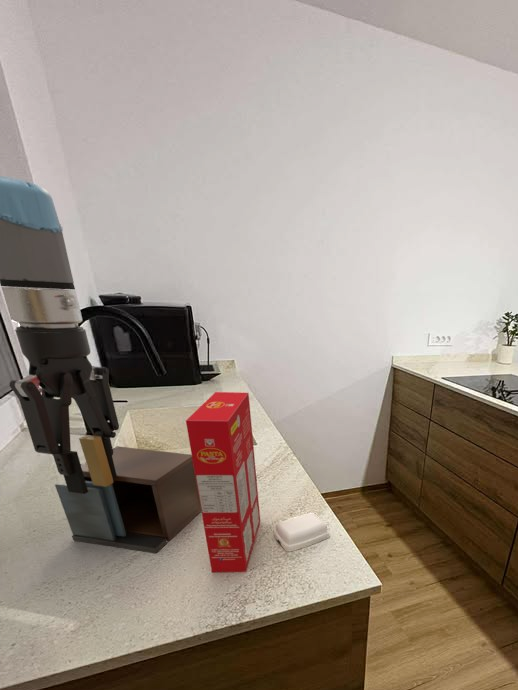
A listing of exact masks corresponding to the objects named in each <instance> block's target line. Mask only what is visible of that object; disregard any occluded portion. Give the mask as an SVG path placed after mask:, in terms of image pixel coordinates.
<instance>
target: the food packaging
mask: <svg viewBox="0 0 518 690" xmlns="http://www.w3.org/2000/svg"><path fill="white" fill-rule="evenodd" d="M185 425H186V430H187V435H188V436H187V437H188V441H189V447H190V455H192V459H193V465H194V471H195V477H196V483H197V489H198V494H199V500H200V506H201V512H200V513H201V517H202V524H203V529H204V535H205V541H206V545H207V546H206V547H207V550H208V558H209V564H210V569H211V573H246V572H247V569H248V566H249V562H250V559H251V555H252V552H253V549H254V545H255V541H256V538H257V534H258V531H259V527H260V524H261V512H260V503H259V502H260V501H259V492H258V481H257V470H256V460H255V459H256V458H255V447H254V435H253V426H252V415H251V405H250V394H249V392H237V391H236V392H235V391H233V392H232V391H215V392H214V393H213V394H212V395H210V397H208V398H207V399H206V401H204V402H203V403H202V404H201V405H200V406H199V407H198V408H197V409H196V410H195V411H194V412H193V413H192V414H191V415H190V416H189V417H188V418H187V419H185Z"/></svg>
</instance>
